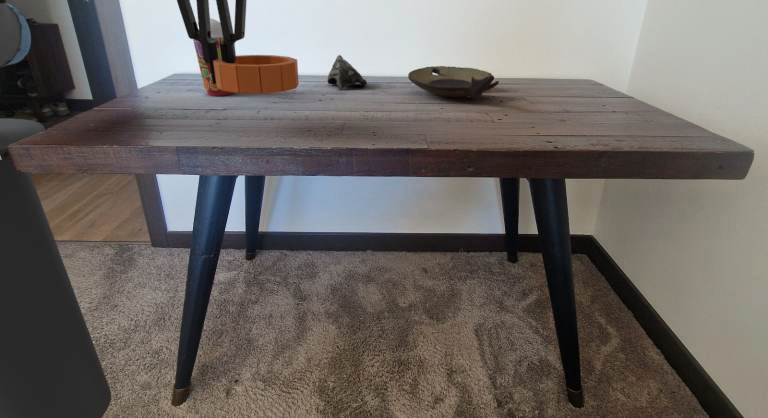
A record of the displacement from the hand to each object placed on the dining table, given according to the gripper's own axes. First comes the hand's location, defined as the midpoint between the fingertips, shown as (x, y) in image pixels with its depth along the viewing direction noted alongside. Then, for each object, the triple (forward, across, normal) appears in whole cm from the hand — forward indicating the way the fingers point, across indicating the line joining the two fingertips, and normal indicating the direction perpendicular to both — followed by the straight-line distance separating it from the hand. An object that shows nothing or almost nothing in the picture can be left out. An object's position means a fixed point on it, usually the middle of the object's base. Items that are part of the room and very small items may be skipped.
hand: (223, 82), depth 78 cm
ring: (+1, -6, 0) cm, 6 cm away
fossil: (+8, -22, -41) cm, 47 cm away
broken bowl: (+8, -48, -28) cm, 56 cm away
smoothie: (+9, +10, -31) cm, 34 cm away
